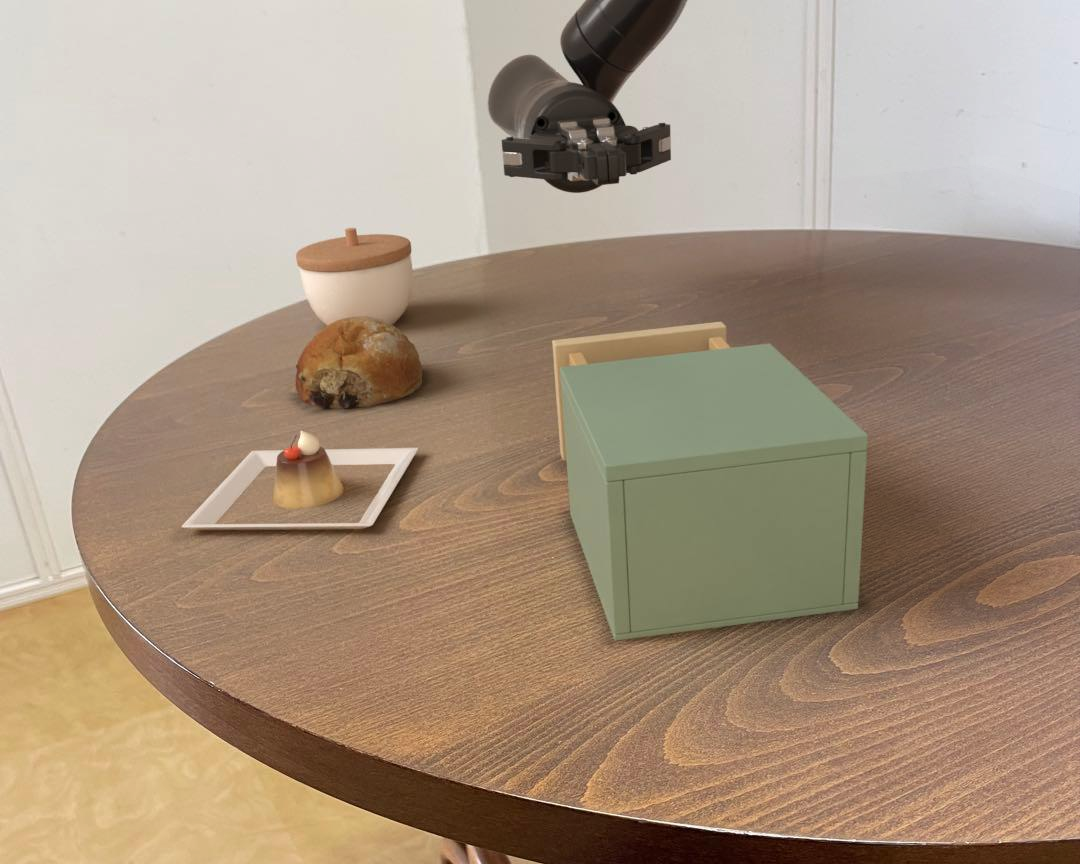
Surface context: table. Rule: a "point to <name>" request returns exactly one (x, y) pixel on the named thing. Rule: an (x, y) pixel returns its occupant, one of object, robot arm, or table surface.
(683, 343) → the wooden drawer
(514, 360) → the table surface
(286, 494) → the dessert
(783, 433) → the cabinet
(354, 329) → the bread roll
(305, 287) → the trinket box
